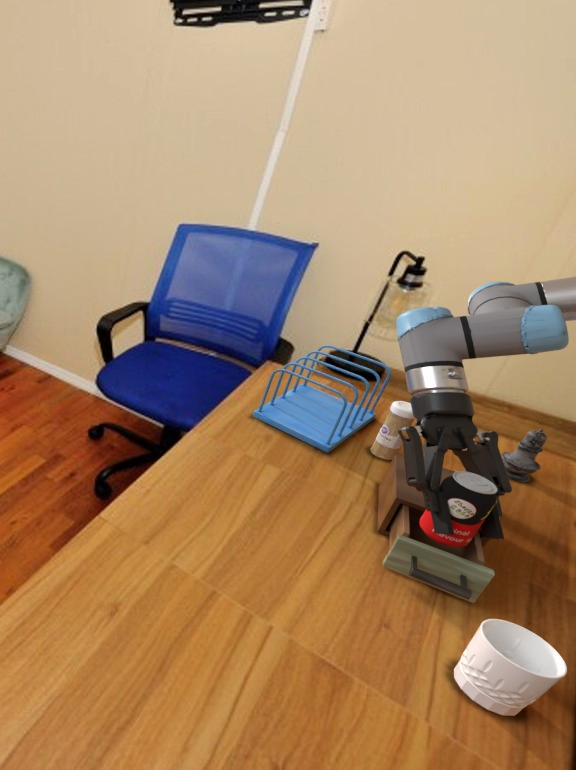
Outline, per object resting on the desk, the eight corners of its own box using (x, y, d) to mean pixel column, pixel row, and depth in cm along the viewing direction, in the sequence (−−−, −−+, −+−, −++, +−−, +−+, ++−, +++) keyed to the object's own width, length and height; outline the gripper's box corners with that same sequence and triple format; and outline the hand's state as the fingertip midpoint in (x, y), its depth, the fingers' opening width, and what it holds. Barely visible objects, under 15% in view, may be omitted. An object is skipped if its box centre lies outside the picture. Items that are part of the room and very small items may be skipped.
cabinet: (469, 567, 88) (494, 531, 84) (377, 532, 96) (395, 497, 92) (461, 513, 99) (483, 479, 95) (378, 485, 107) (395, 452, 102)
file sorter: (327, 454, 116) (351, 398, 108) (251, 417, 129) (268, 365, 122) (374, 419, 127) (399, 366, 120) (300, 388, 140) (318, 339, 133)
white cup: (507, 732, 66) (549, 689, 62) (435, 675, 73) (468, 632, 68) (537, 705, 69) (579, 662, 64) (465, 653, 75) (498, 610, 71)
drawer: (477, 625, 78) (499, 595, 75) (382, 584, 85) (398, 556, 82) (465, 545, 91) (483, 518, 88) (383, 516, 98) (397, 489, 95)
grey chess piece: (487, 468, 111) (515, 424, 105) (501, 461, 113) (529, 417, 107) (523, 486, 106) (554, 440, 100) (537, 478, 108) (569, 433, 102)
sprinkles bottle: (364, 449, 117) (387, 401, 111) (381, 447, 118) (405, 398, 111) (383, 462, 113) (408, 412, 107) (400, 459, 114) (426, 410, 107)
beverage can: (407, 520, 88) (437, 468, 83) (444, 521, 88) (477, 468, 83) (437, 550, 83) (472, 495, 77) (477, 551, 83) (515, 496, 77)
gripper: (393, 386, 85) (420, 531, 78) (523, 393, 83) (562, 543, 76) (362, 396, 92) (385, 529, 85) (481, 402, 90) (513, 540, 83)
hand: (468, 535), depth 81 cm, fingers closed on beverage can, 6 cm apart
